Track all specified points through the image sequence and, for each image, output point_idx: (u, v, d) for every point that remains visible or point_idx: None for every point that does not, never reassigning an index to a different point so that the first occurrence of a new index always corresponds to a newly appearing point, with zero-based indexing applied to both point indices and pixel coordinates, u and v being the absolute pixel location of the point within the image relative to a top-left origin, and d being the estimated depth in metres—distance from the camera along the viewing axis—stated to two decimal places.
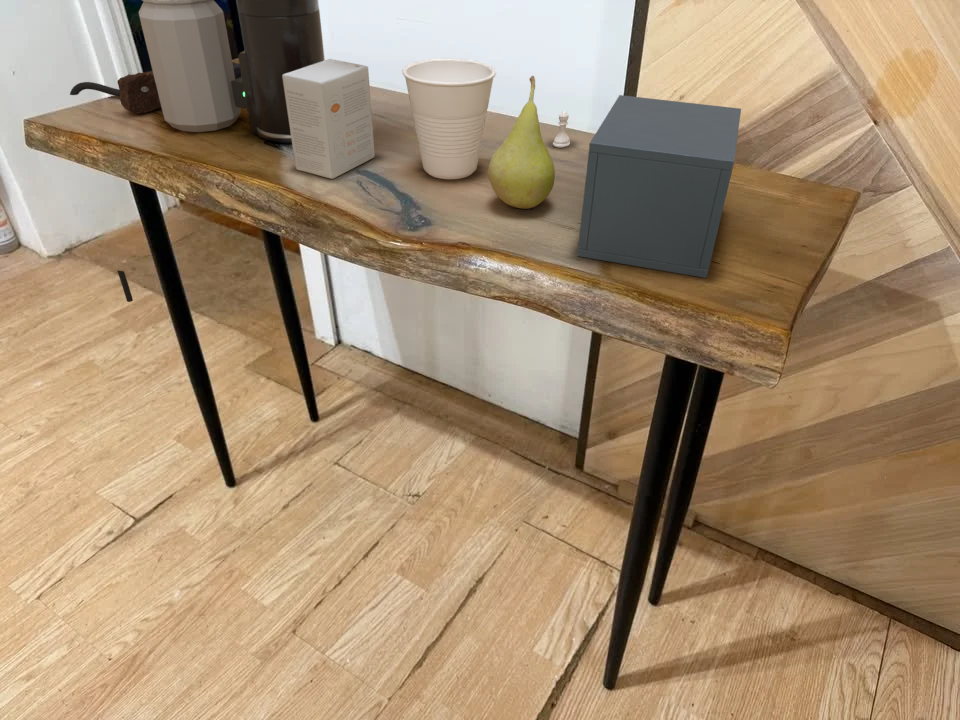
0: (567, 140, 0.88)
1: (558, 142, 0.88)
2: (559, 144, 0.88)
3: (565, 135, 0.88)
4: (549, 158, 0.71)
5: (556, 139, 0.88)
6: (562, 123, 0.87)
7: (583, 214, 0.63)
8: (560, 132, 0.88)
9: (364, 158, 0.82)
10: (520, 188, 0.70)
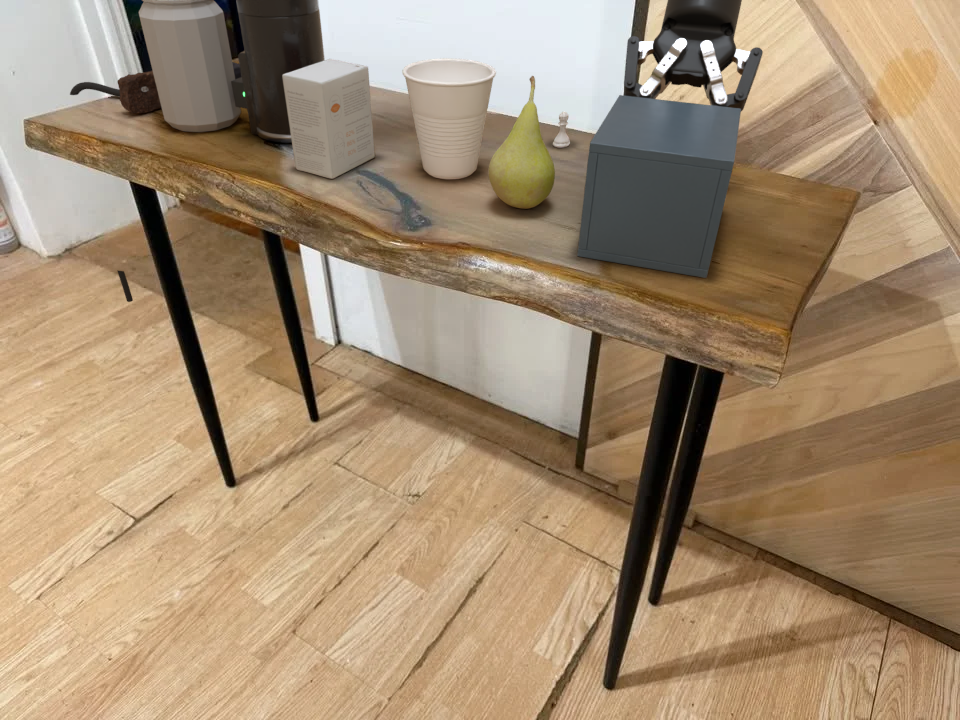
0: (567, 140, 0.88)
1: (558, 142, 0.88)
2: (559, 144, 0.88)
3: (565, 135, 0.88)
4: (549, 158, 0.71)
5: (556, 139, 0.88)
6: (562, 123, 0.87)
7: (583, 214, 0.63)
8: (559, 132, 0.88)
9: (364, 158, 0.82)
10: (520, 188, 0.70)
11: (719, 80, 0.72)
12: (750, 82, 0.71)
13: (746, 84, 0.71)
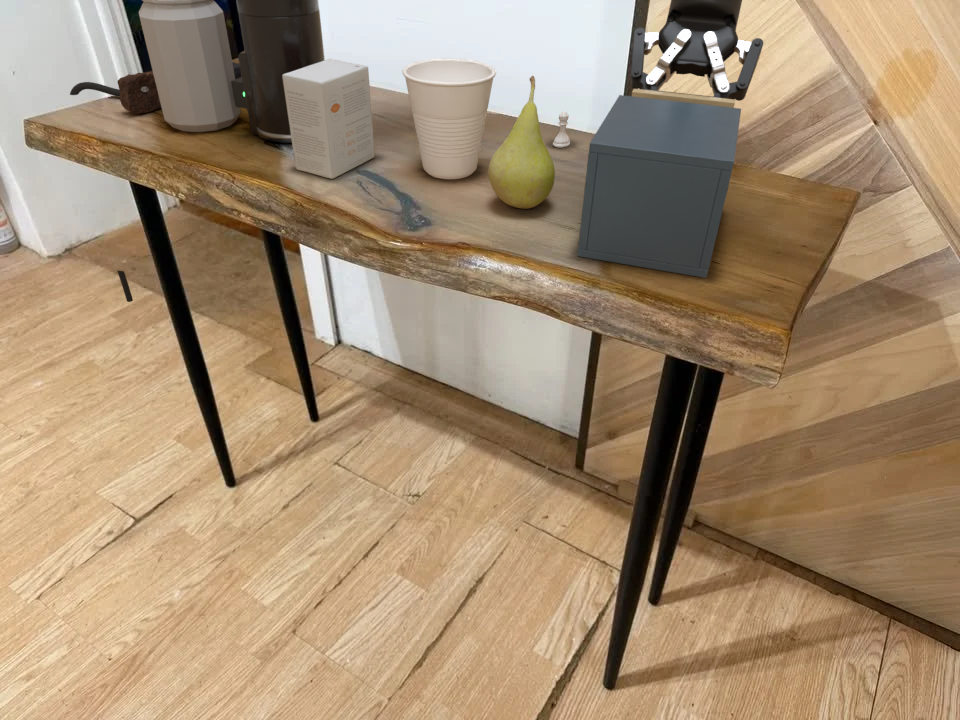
0: (567, 140, 0.88)
1: (558, 142, 0.88)
2: (559, 144, 0.88)
3: (565, 135, 0.88)
4: (549, 158, 0.71)
5: (556, 139, 0.88)
6: (562, 123, 0.87)
7: (583, 214, 0.63)
8: (560, 132, 0.88)
9: (364, 158, 0.82)
10: (520, 188, 0.70)
11: (722, 69, 0.75)
12: (751, 71, 0.75)
13: (747, 73, 0.75)
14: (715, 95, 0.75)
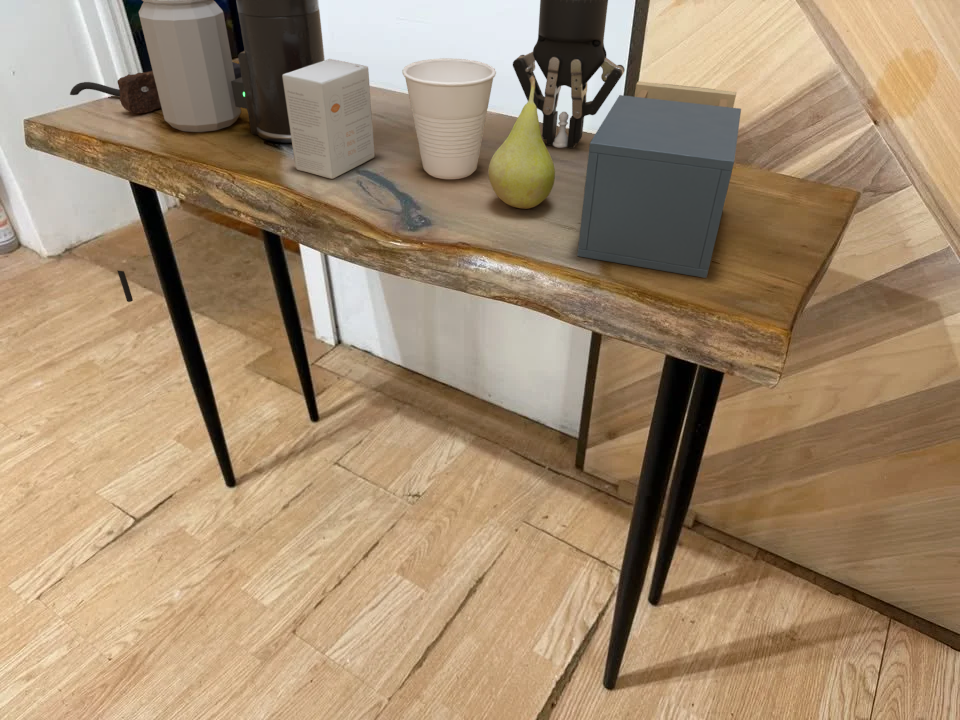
0: (567, 140, 0.88)
1: (558, 142, 0.88)
2: (559, 144, 0.88)
3: (565, 135, 0.88)
4: (549, 158, 0.71)
5: (556, 139, 0.88)
6: (562, 123, 0.87)
7: (583, 214, 0.63)
8: (559, 132, 0.88)
9: (364, 158, 0.82)
10: (520, 188, 0.70)
11: (578, 98, 0.84)
12: (602, 101, 0.83)
13: (598, 102, 0.83)
14: (571, 120, 0.86)
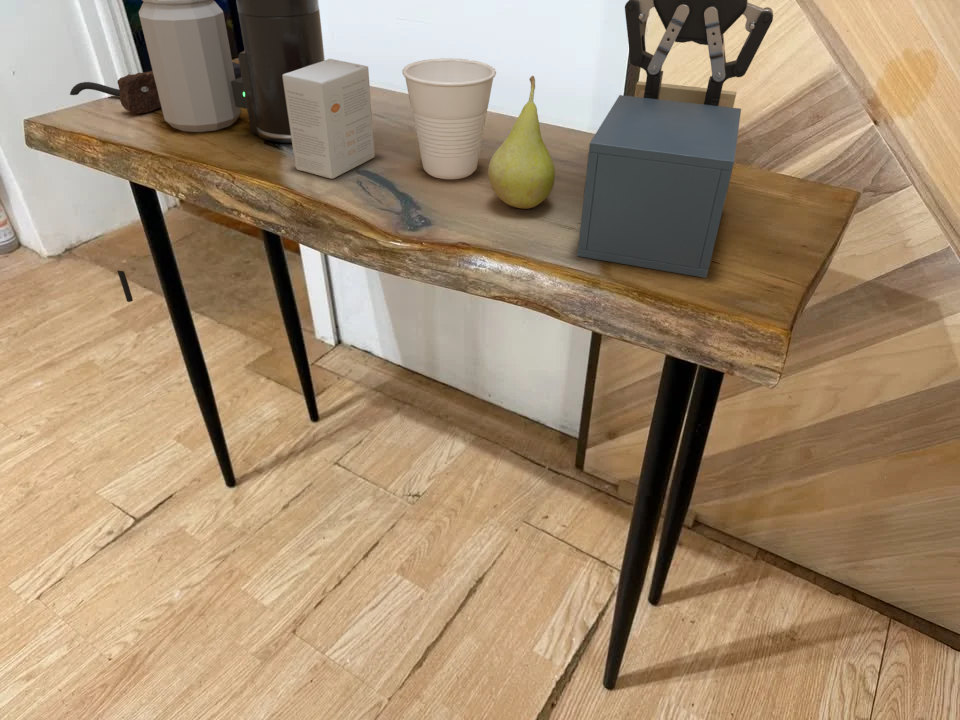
0: None
1: None
2: None
3: None
4: (549, 158, 0.71)
5: None
6: None
7: (583, 214, 0.63)
8: None
9: (364, 158, 0.82)
10: (520, 188, 0.70)
11: (719, 55, 0.67)
12: (752, 56, 0.67)
13: (747, 58, 0.67)
14: (709, 85, 0.69)
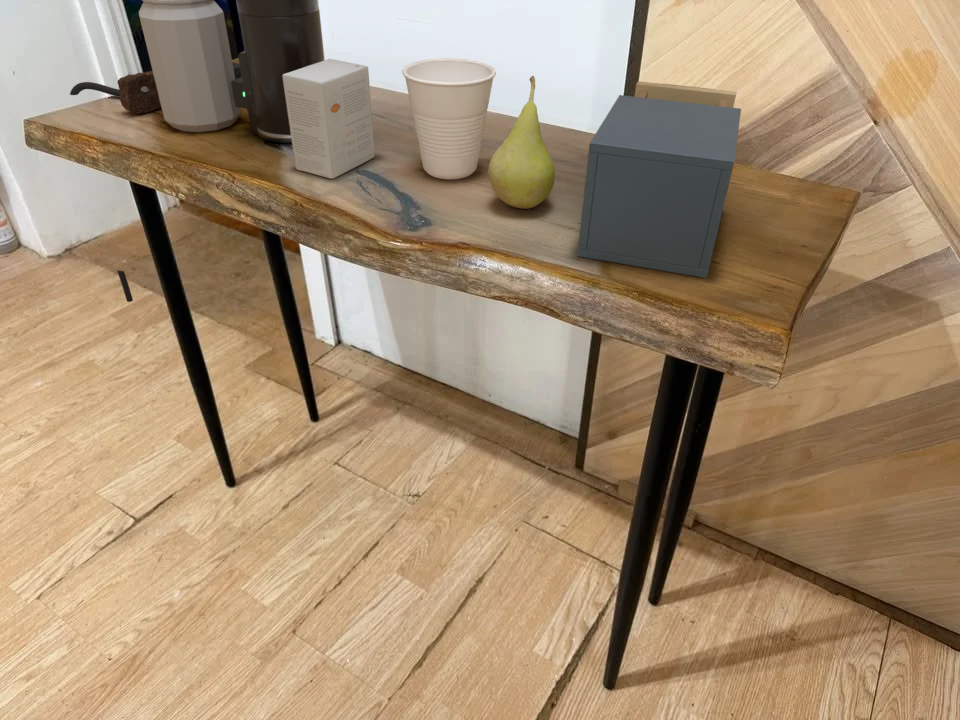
0: None
1: None
2: None
3: None
4: (549, 158, 0.71)
5: None
6: None
7: (583, 214, 0.63)
8: None
9: (364, 158, 0.82)
10: (520, 188, 0.70)
11: None
12: None
13: None
14: None
